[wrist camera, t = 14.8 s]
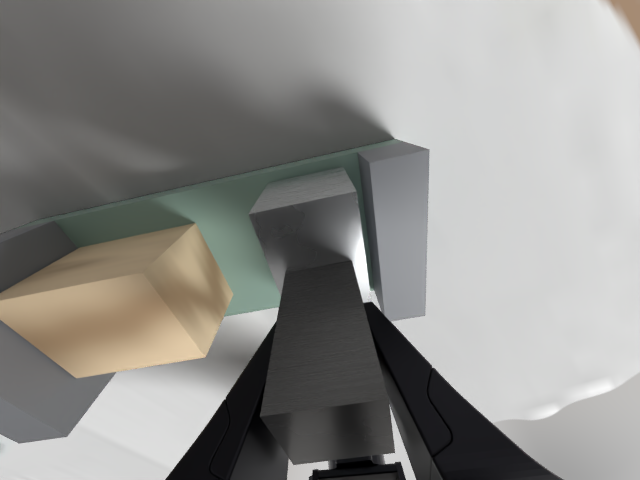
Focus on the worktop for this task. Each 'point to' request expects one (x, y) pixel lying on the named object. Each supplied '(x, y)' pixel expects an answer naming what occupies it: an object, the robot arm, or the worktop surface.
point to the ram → (320, 323)
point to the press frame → (230, 254)
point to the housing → (123, 303)
